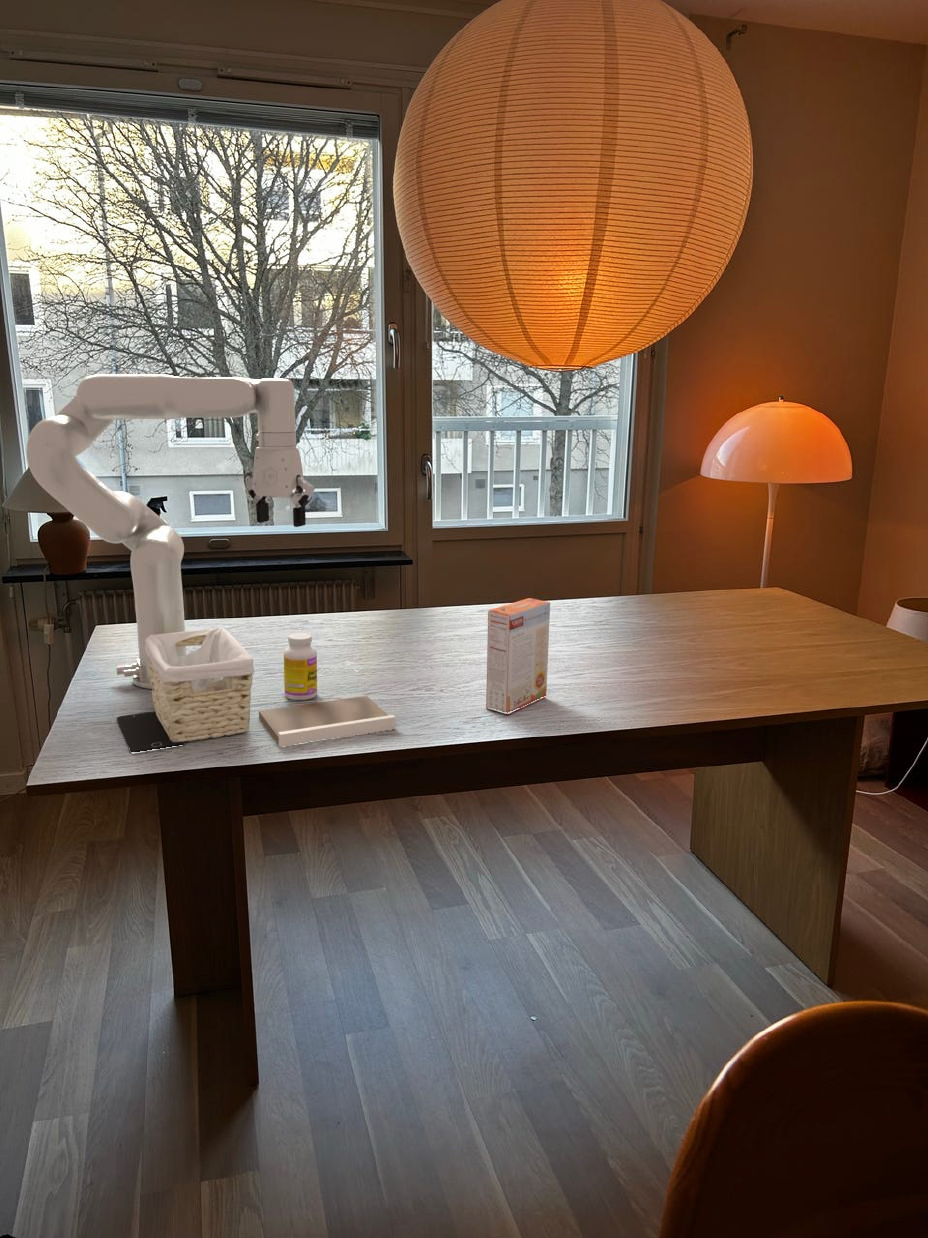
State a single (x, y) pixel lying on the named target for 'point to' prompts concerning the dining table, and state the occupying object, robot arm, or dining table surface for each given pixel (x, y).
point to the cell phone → (144, 732)
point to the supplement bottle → (300, 667)
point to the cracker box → (517, 654)
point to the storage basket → (200, 684)
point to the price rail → (337, 730)
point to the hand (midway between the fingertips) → (281, 523)
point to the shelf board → (319, 714)
